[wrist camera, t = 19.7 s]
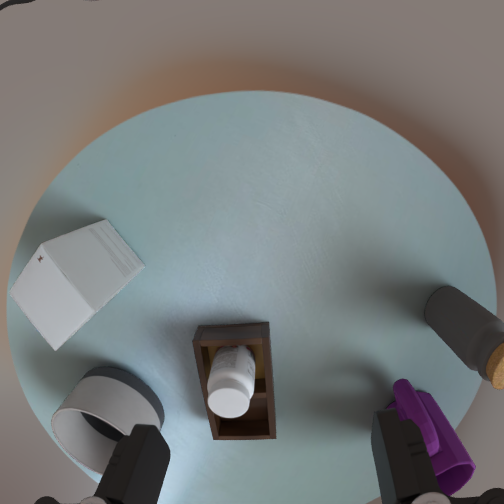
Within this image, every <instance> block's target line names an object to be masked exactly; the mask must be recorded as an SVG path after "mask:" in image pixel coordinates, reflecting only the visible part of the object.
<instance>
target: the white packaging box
mask: <svg viewBox="0 0 504 504" xmlns="http://www.w3.org/2000/svg"><path fill="white" fill-rule="evenodd" d="M144 267H145V265H144V264H143V262H142V261H141V260H140V259H139V258H138V256H137V255H136V254H135V253H134V252H133V251H132V249H131V248H130V247H129V246H128V245H127V243H126V242H125V241H124V240H123V239H122V237H121V236H120V235H119V234H118V233H117V231H116V230H115V229H114V228H113V226H112V225H111V224H110V223H109V222H108V220H107V219H105V220H102V221H99V222H96V223H94V224H91V225H88V226H85V227H82V228H80V229H77V230H74V231H72V232H69V233H66V234H64V235H61V236H58V237H56V238H53V239H51V240H48V241H45V242H43V243H41V244H40V246H39V247H38V249H37V250H36V252H35V253H34V255H33V256H32V258H31V259H30V261H29V262H28V264H27V265H26V267H25V268H24V270H23V271H22V273H21V274H20V276H19V277H18V279H17V280H16V282H15V283H14V285H13V286H12V288H11V290H10V292H9V294H10V295H11V296H12V298H13V299H14V301H15V302H16V303H17V305H18V306H19V307H20V308H21V310H22V311H23V312H24V314H25V315H26V316H27V318H28V319H29V320H30V321H31V323H32V324H33V325H34V326H35V328H36V329H37V330H38V331H39V333H40V334H41V335H42V336H43V337H44V339H45V340H46V341H47V342H48V343H49V344H50V346H51V347H52V348H53V349H54V350H55V351H56V350H58V349H59V348H60V347H61V346H62V345H63V344H64V343H65V342H66V341H67V340H68V339H69V338H71V337H72V336H73V335H74V334H75V333H76V332H77V331H78V330H79V329H80V328H81V327H82V326H83V325H84V324H85V323H86V322H87V321H89V320H90V319H91V318H92V317H93V316H94V315H95V314H96V313H97V312H98V311H99V310H100V309H101V308H102V307H104V306H105V305H106V304H107V303H108V302H109V301H110V300H111V299H112V298H113V297H114V296H115V295H116V294H117V293H118V292H120V291H121V290H122V289H123V288H124V287H125V286H126V285H127V284H128V283H129V282H130V281H131V280H132V279H133V278H134V277H135V276H136V275H137V274H138V273H139V272H140V271H141V270H142V269H143V268H144Z"/></svg>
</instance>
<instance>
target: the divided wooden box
mask: <svg viewBox="0 0 504 504" xmlns="http://www.w3.org/2000/svg"><path fill="white" fill-rule="evenodd" d="M192 342H193V347H194V352H195V358H196V363H197V368H198V373H199V378H200V383H201V387H202V392H203V397H204V401H205V406H206V410H207V415H208V419H209V423H210V428H211V432H212V436H213V440H259V439H276V414H275V399H274V384H273V369H272V355H271V340H270V327H269V322H266V323H249V324H230V325H206V326H198V328H197V331H196V333H195V335H194V338H193V340H192ZM234 345H247V346H248V347H249V348H250V349H251V350H252V351H253V353H254V355H255V361H256V362H255V383H254V392H253V395H252V397H251V399H250V403H249V408H248V410H247V411H246V412H245V413H244V414H243V415H241V416H239V417H235V418H225V417H221V416H219V415H217V414H215V413H214V412H213V411H212V410H211V409H210V408H209V405H208V394H209V393H208V390H207V384H208V379H209V375H210V371H211V367H212V364H213V359H214V356H215V353H216V351H217V349H218V348H219V347H220V346H234Z"/></svg>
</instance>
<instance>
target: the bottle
mask: <svg viewBox="0 0 504 504" xmlns="http://www.w3.org/2000/svg"><path fill="white" fill-rule="evenodd" d="M425 318H426V321H427V323H428V325H429V326H430V327H431V328H432V329H433V330H434V331H435V332H436V333H437V334H438V336H439V337H440V338H441V339H442V340H443V341H444V342H445V343H446V344H447V345H448V346H449V347H450V348H451V349H452V350H453V352H454V353H455V354H456V355H457V356H458V357H459V358H460V359H461V360H462V361H463V362H464V363H465V365H466V366H467V367H468V368H470V369H471V370H474V371H478V373H479V375H480V376H481V377H482V378H483V379H484V380H486V381H490V382H491V384H492V385H493V387H494V388H495V389H504V323H503V322H502V321H501V320H500V319H499V318H497V317H496V316H495V315H493V314H492V313H491V312H489V311H488V310H487V309H485V308H484V307H483V306H481V305H480V304H478V303H477V302H476V301H474V300H473V299H471V298H470V297H468V296H467V295H466V294H464V293H463V292H461V291H460V290H458V289H457V288H455V287H452V286H445V287H442V288H440V289H438V290H437V291H436V292H435V293H434V294H433V295H432V296H431V297H430V299H429V300H428V302H427V305H426V308H425Z"/></svg>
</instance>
